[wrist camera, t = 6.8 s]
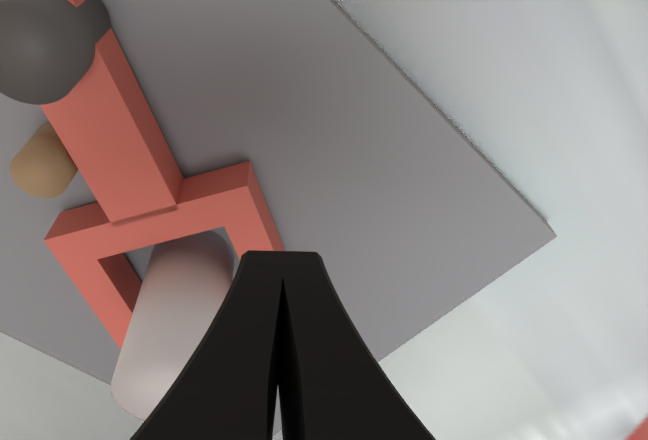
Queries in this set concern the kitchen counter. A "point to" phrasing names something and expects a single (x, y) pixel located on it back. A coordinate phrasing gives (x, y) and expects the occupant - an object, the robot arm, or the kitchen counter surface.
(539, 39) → the kitchen counter surface
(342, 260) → the station
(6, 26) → the square frame with handle
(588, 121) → the kitchen counter surface
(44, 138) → the tan tapered cylinder
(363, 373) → the robot arm
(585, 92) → the kitchen counter surface
